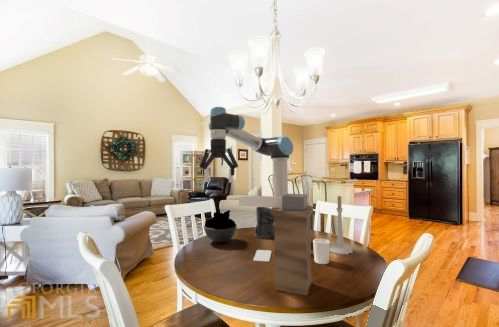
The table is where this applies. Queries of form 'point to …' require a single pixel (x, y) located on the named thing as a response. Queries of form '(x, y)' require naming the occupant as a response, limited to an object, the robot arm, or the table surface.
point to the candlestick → (340, 235)
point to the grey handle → (276, 201)
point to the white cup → (321, 251)
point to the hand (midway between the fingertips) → (218, 182)
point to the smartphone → (262, 255)
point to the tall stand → (292, 250)
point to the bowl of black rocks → (220, 227)
